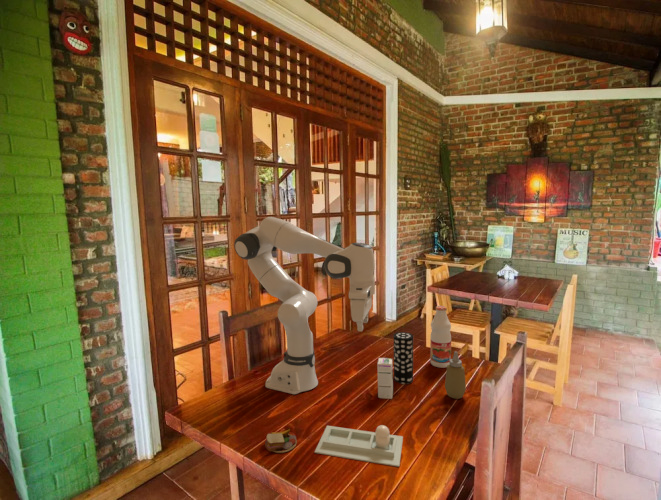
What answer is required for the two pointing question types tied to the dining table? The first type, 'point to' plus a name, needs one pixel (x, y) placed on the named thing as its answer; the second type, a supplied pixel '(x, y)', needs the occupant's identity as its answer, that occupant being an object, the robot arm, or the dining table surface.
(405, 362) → the white-spotted black cylinder
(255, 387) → the dining table surface
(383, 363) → the syrup box
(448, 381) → the squeeze bottle
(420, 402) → the dining table surface
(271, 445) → the toy sandwich meal
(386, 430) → the egg
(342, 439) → the egg tray
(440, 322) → the fruit juice
